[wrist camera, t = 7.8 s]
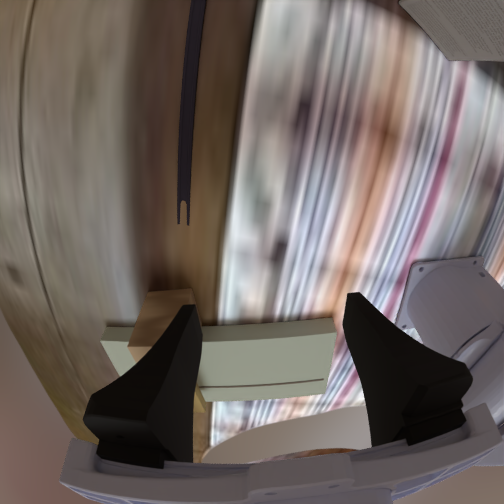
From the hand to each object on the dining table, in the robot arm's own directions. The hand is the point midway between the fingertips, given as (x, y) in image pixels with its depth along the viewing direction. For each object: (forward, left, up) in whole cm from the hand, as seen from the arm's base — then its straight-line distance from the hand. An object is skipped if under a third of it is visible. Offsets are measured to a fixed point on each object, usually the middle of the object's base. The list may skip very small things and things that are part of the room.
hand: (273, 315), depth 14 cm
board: (+5, +14, -9) cm, 18 cm away
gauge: (+8, +11, -9) cm, 17 cm away
